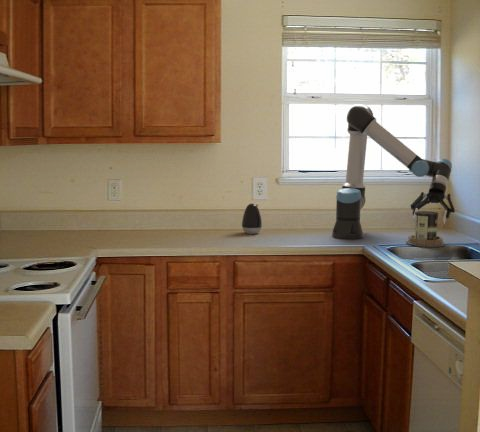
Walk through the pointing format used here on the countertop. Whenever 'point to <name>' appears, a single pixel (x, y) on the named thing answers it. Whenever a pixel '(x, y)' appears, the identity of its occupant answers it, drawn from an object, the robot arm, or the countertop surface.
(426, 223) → the coffee can
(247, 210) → the black egg-shaped speaker
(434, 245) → the collar
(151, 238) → the countertop surface
